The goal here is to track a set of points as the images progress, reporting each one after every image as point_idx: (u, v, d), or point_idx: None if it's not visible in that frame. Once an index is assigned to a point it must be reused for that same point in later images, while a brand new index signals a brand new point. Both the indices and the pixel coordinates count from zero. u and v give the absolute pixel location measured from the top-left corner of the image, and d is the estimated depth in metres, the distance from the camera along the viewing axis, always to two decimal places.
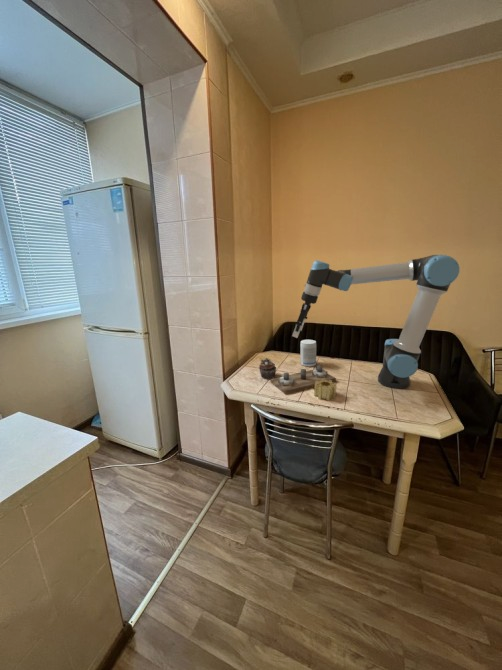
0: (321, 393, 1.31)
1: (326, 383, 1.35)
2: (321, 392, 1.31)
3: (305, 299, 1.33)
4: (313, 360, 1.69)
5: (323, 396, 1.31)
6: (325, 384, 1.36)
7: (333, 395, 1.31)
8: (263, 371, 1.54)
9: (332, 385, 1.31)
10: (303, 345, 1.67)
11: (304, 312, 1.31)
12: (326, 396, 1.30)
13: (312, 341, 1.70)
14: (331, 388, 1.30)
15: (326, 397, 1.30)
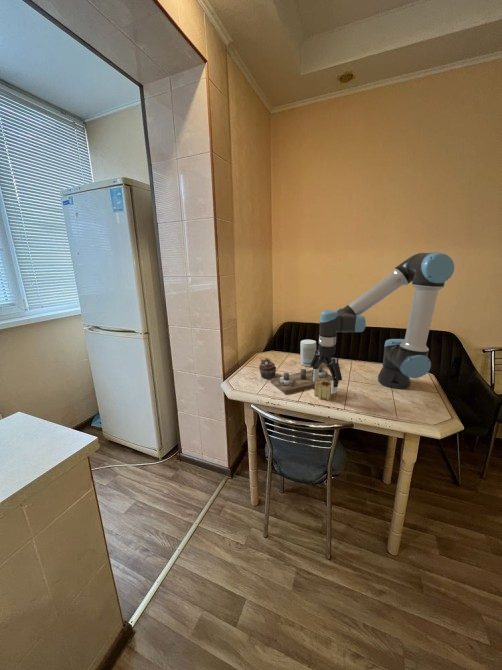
0: (321, 393, 1.31)
1: (326, 383, 1.35)
2: (321, 392, 1.31)
3: (329, 352, 1.25)
4: None
5: (323, 396, 1.31)
6: (325, 384, 1.36)
7: (333, 395, 1.31)
8: (263, 371, 1.54)
9: None
10: (303, 345, 1.67)
11: (337, 366, 1.24)
12: (326, 396, 1.30)
13: (312, 341, 1.70)
14: None
15: (326, 397, 1.30)
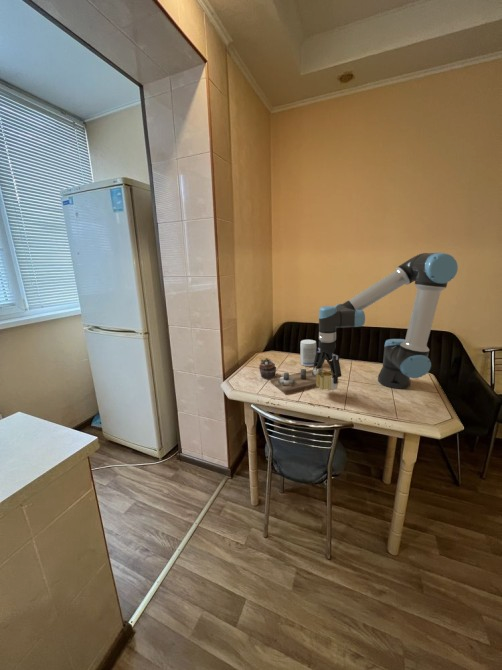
0: (323, 383, 1.29)
1: (328, 373, 1.34)
2: (323, 382, 1.29)
3: (329, 348, 1.25)
4: (313, 360, 1.69)
5: (325, 386, 1.30)
6: (327, 374, 1.34)
7: None
8: (263, 371, 1.54)
9: None
10: (303, 345, 1.67)
11: (338, 362, 1.24)
12: (328, 386, 1.29)
13: (312, 341, 1.70)
14: None
15: (328, 387, 1.29)
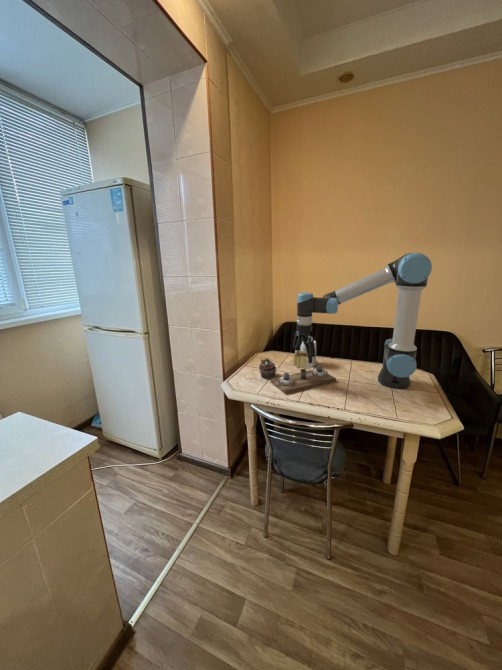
0: (299, 362, 1.43)
1: (304, 354, 1.48)
2: (299, 361, 1.43)
3: (305, 331, 1.38)
4: (313, 360, 1.69)
5: (301, 365, 1.43)
6: (303, 355, 1.48)
7: None
8: (263, 371, 1.54)
9: None
10: (303, 345, 1.67)
11: (312, 344, 1.37)
12: (303, 365, 1.42)
13: None
14: None
15: (303, 366, 1.42)
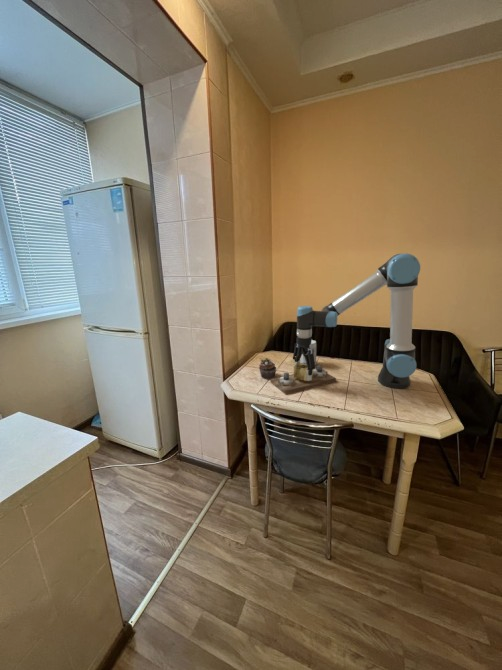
0: (299, 374, 1.45)
1: (304, 366, 1.49)
2: (299, 373, 1.44)
3: (305, 343, 1.40)
4: None
5: (301, 377, 1.45)
6: (303, 367, 1.50)
7: None
8: (263, 371, 1.54)
9: None
10: None
11: (312, 356, 1.39)
12: (303, 377, 1.44)
13: (312, 341, 1.70)
14: None
15: (303, 378, 1.44)
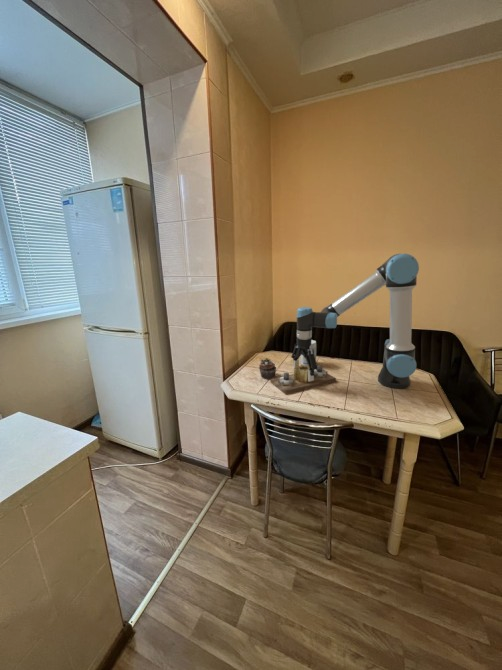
0: (299, 376, 1.45)
1: (304, 368, 1.50)
2: (299, 375, 1.45)
3: (305, 345, 1.40)
4: None
5: (301, 379, 1.45)
6: None
7: None
8: (263, 371, 1.54)
9: None
10: None
11: (313, 356, 1.39)
12: (304, 379, 1.44)
13: (312, 341, 1.70)
14: None
15: (304, 380, 1.44)
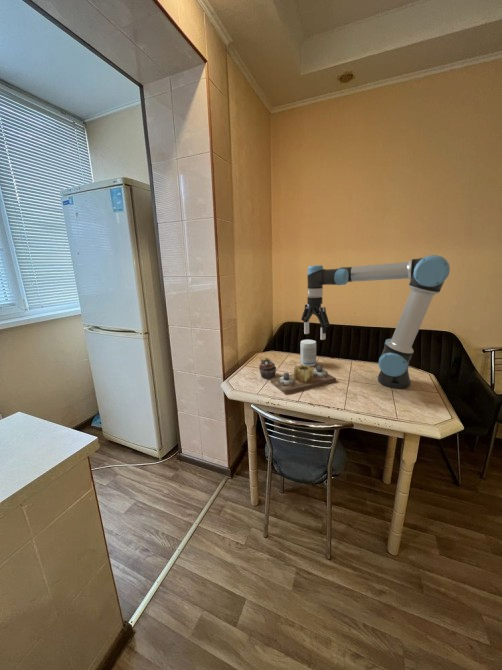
0: (299, 376, 1.45)
1: (304, 368, 1.50)
2: (299, 375, 1.45)
3: (317, 303, 1.40)
4: (313, 360, 1.69)
5: (301, 379, 1.45)
6: None
7: (310, 378, 1.45)
8: (263, 371, 1.54)
9: (309, 369, 1.46)
10: (303, 345, 1.67)
11: (325, 313, 1.39)
12: (304, 379, 1.44)
13: (312, 341, 1.70)
14: (308, 372, 1.44)
15: (304, 380, 1.44)
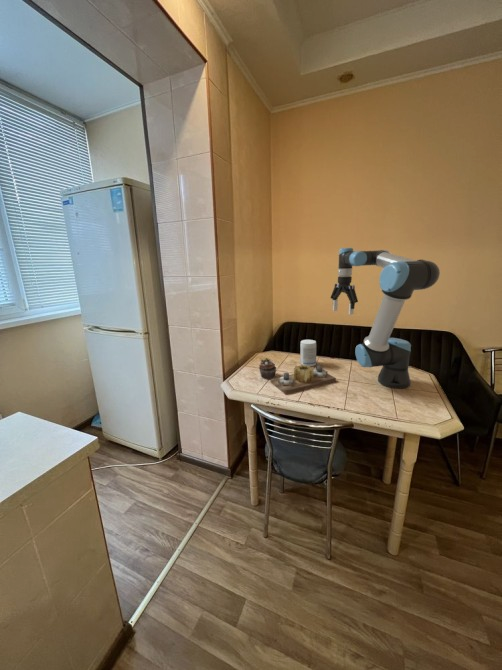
0: (299, 376, 1.45)
1: (304, 368, 1.50)
2: (299, 375, 1.45)
3: (347, 281, 1.58)
4: (313, 360, 1.69)
5: (301, 379, 1.45)
6: None
7: (310, 378, 1.45)
8: (263, 371, 1.54)
9: (309, 369, 1.46)
10: (303, 345, 1.67)
11: (354, 291, 1.56)
12: (304, 379, 1.44)
13: (312, 341, 1.70)
14: (308, 372, 1.44)
15: (304, 380, 1.44)
